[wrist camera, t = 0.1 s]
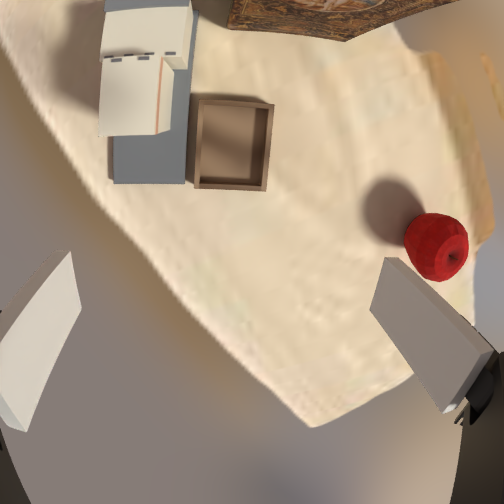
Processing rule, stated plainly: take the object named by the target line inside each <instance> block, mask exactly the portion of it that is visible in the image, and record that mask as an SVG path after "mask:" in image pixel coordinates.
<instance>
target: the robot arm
mask: <svg viewBox="0 0 504 504" xmlns="http://www.w3.org/2000/svg"><path fill="white" fill-rule="evenodd" d="M81 309H82V308H81V304H80V299H79V295H78V290H77V285H76V280H75V275H74V269H73V264H72V258H71V252H70V251H54V252H53V253H52V254H51V255H50V256H49V257H48V258H47V260H45V262H44V263H43V264H42V265H41V266H40V267H39V268H38V269H37V270H36V271H35V273H34V274H33V275H32V276H31V277H30V278H29V279H28V280H27V282H26V283H25V284H24V285H23V286H22V287H21V289H20V290H19V291H18V292H17V293H16V295H15V296H14V297H13V298H12V300H11V301H10V302H9V303H8V304H7V306H6V307H5V308H4V309H3V311H1V310H0V416H1V417H2V419H3V420H4V422H5V423H6V424H7V426H9V427H12V428H15V429H18V430H21V431H24V432H27V430H28V427H29V424H30V422H31V419H32V416H33V413H34V411H35V408H36V406H37V403H38V401H39V398H40V396H41V394H42V391H43V388H44V386H45V384H46V382H47V379H48V377H49V375H50V373H51V370H52V368H53V366H54V364H55V361H56V359H57V357H58V355H59V353H60V351H61V349H62V347H63V345H64V342H65V340H66V338H67V336H68V334H69V332H70V330H71V328H72V326H73V324H74V323H75V320H76V319H77V317H78V315H79V313H80V311H81ZM370 311H371V313H372V314H373V315H374V317H375V318H376V319H377V321H378V322H379V323H380V325H381V326H382V328H383V329H384V330H385V332H386V333H387V334H388V336H389V337H390V339H391V340H392V341H393V343H394V344H395V346H396V347H397V348H398V350H399V351H400V353H401V354H402V355H403V357H404V358H405V360H406V361H407V363H408V364H409V365H410V367H411V368H412V370H413V371H414V373H415V374H416V375H417V377H418V378H419V380H420V381H421V383H422V384H423V386H424V387H425V389H426V390H427V392H428V393H429V395H430V396H431V398H432V399H433V401H434V402H435V404H436V405H437V407H438V408H439V410H440V412H441V413H442V414H443V413H446V412H449V411H451V410H453V409H456V408H457V407H458V405H459V404H460V403H461V401H462V400H463V399H464V397H466V399H467V400H468V401H469V402H468V403H467V405H466V406H465V407H464V409H463V410H462V411H461V413H460V414H459V415H458V417H457V418H456V419H455V422H454V423H455V424H457V422H458V421H459V420H460V419H461V418H463V417H464V418H463V421H462V422H461V424H460V425H462V426H463V429H462V439H461V446H460V453H459V460H458V466H457V472H456V477H455V482H454V487H453V492H452V496H451V500H450V504H504V352H501V353H500V354H499V353H498V352H497V351H496V350H495V349H494V348H493V347H492V345H491V344H490V343H489V342H488V341H487V340H486V339H485V338H484V337H483V336H482V335H481V334H480V333H479V332H477V330H476V329H475V328H474V327H473V326H471V324H470V323H469V322H468V321H467V320H466V319H465V318H464V317H463V316H462V315H460V314H459V313H458V312H457V311H456V310H455V309H454V308H453V307H452V306H451V305H450V304H449V303H448V302H447V301H445V300H444V299H443V298H442V297H441V296H440V295H439V294H438V293H437V292H436V291H435V290H434V289H433V288H432V287H431V286H429V285H428V284H427V283H426V282H425V281H424V280H423V279H422V278H421V277H420V276H418V275H417V274H416V273H415V272H414V271H413V270H412V269H411V268H410V267H408V266H407V265H406V264H405V263H404V262H403V261H402V260H400V259H399V258H392V257H385V258H384V262H383V266H382V269H381V273H380V276H379V280H378V283H377V287H376V290H375V293H374V297H373V300H372V303H371V306H370ZM0 504H31V502H30V500H29V499H28V496H27V494H26V492H25V490H24V488H23V486H22V484H21V482H20V479H19V477H18V475H17V472H16V470H15V468H14V465H13V463H12V460H11V457H10V455H9V452H8V449H7V447H6V444H5V441H4V438H3V436H2V432H1V429H0Z"/></svg>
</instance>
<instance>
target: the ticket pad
mask: <svg viewBox="0 0 504 504" xmlns="http://www.w3.org/2000/svg"><path fill="white" fill-rule="evenodd" d="M104 12H105V13H106V16H105V22H104V28H103V35H102V42H101V49H100V57H99V62H101V63H103V59H105V58H114V57H126V56H140V55H161V56H162V57H163V59H164V60H165V62H166V63H167V64H168V65H169V67H170V68H171V69H188V59H189V49H190V41H191V32H192V24H193V11H192V4H191V0H105V5H104Z"/></svg>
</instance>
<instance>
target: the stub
mask: <svg viewBox="0 0 504 504" xmlns="http://www.w3.org/2000/svg"><path fill="white" fill-rule="evenodd" d="M173 81H174V72H173V70H172V69H171V68H170V67H169V65H168V64H167V63H166V62H165V60H164V59H163V57H162V56H161V55H140V56H126V57H114V58H105V59H103V64H102V74H101V86H100V101H99V123H98V137H104V136H126V135H156V134H158V133H161V132H164V131H168V130H170V122H171V107H172V93H173Z"/></svg>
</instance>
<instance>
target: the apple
mask: <svg viewBox="0 0 504 504" xmlns="http://www.w3.org/2000/svg"><path fill="white" fill-rule="evenodd" d="M404 245H405V248H406V251H407V253H408V256H409V258H410V260H411V263H412V264H413V265H414V267H415V268H416V269H417V271H418V272H419V273H420V274H421V275H422V276H423V277H424V278H425V279H428V280H431V281H436V282H442V281H445V280H448V279H450V278H451V277H453V276H454V275H455V274H456V273H457V272H458V271H459V270H460V269H461V267H462V266H463V265H464V263H465V261H466V259H467V257H468V250H469V243H468V234H467V232H466V230H465V228H464V226H463V225H462V224H461V223H460V222H459V221H458V220H457V219H454V218H452V217H450V216H447V215H443V214H438V213H425V214H422V215H419V216H418V217H417V218H415V219H414V220H413V221H412V223H411V224H410V225H409V227H408V228H407V231H406V233H405V237H404Z"/></svg>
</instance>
